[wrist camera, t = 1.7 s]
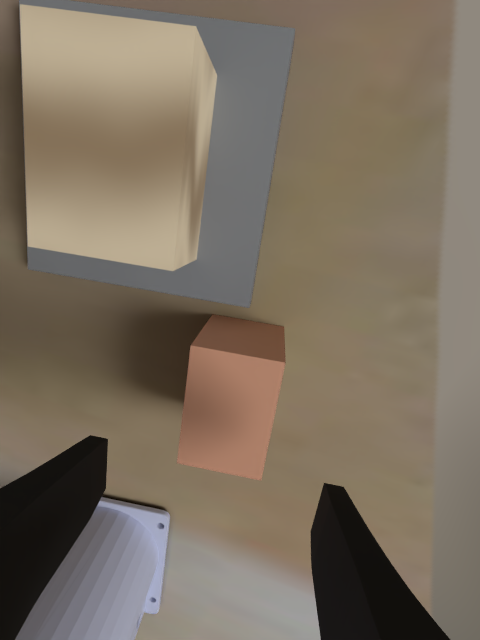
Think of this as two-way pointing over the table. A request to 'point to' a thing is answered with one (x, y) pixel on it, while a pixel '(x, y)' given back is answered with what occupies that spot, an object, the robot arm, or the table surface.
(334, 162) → the table surface
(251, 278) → the base plate
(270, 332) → the terracotta brick
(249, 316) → the table surface
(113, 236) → the maple brick
